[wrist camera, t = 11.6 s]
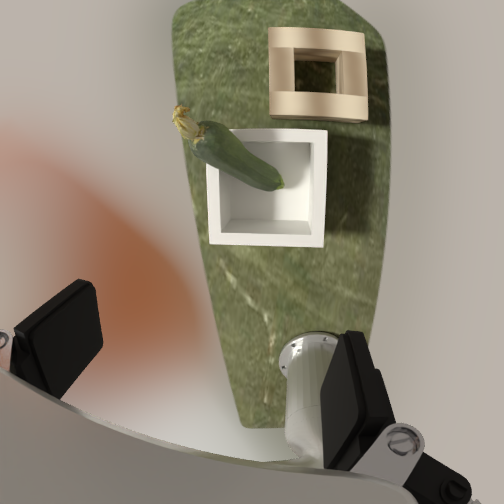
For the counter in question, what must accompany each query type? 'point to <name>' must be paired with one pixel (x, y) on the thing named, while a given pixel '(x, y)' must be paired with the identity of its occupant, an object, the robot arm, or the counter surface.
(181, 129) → the vegetable
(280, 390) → the counter surface
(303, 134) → the bin
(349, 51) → the holder
